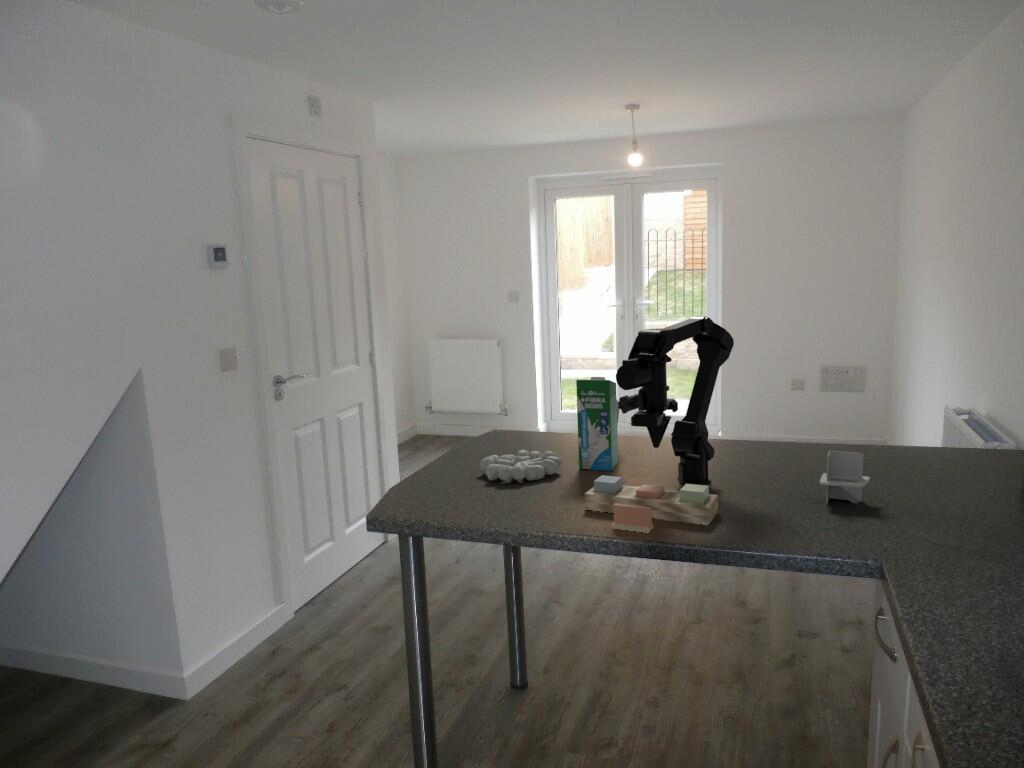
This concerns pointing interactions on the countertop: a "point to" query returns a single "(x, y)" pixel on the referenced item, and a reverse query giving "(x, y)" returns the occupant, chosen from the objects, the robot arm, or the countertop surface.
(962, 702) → the countertop surface
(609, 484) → the slate button
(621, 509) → the terracotta sign
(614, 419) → the milk carton
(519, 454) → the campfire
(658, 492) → the terracotta button
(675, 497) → the button panel
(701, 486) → the sage button
